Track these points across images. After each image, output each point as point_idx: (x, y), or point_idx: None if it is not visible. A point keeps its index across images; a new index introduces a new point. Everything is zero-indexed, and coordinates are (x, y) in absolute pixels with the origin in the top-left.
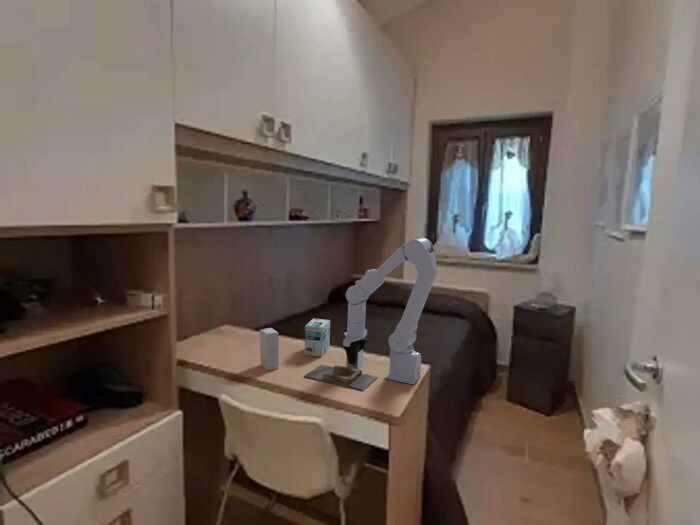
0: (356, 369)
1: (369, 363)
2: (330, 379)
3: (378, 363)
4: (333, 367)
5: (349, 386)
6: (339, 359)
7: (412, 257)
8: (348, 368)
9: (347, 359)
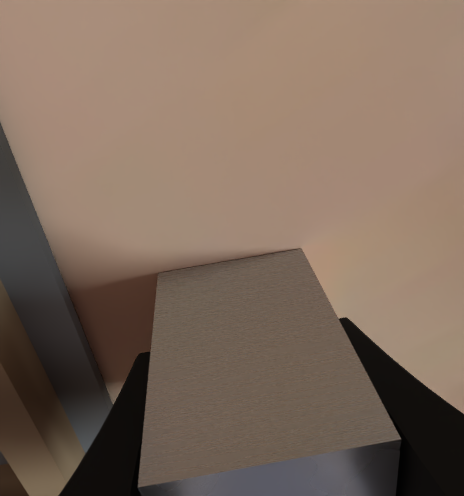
0: (65, 481)
1: (423, 355)
2: None
3: (459, 400)
4: (6, 178)
5: None
6: (379, 11)
7: None
8: (11, 430)
9: (154, 359)
